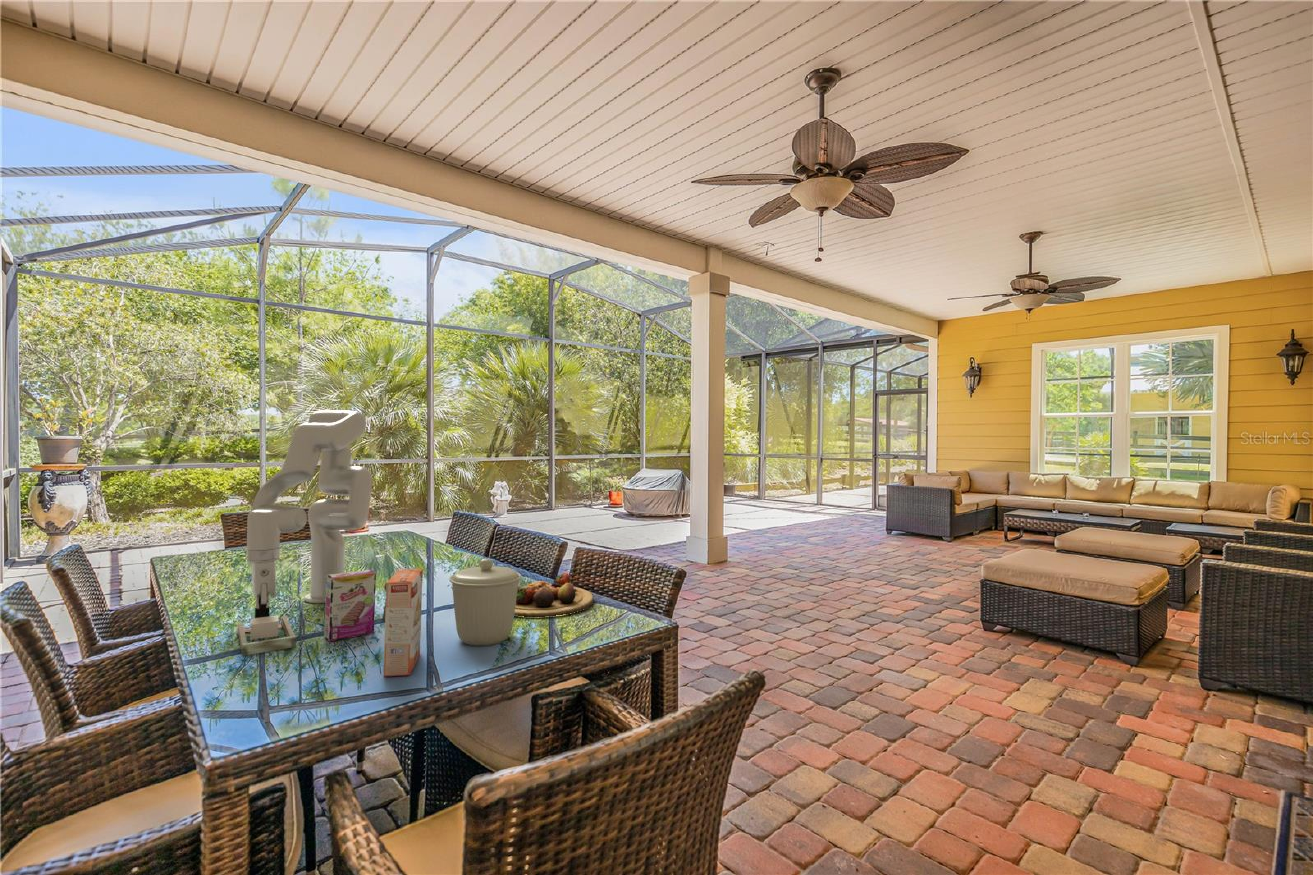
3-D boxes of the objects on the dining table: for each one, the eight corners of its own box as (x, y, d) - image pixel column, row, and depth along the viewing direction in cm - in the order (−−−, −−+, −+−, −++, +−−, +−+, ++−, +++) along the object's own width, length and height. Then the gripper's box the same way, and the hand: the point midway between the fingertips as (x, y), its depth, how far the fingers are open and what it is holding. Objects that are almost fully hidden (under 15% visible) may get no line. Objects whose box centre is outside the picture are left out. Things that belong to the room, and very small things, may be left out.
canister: (496, 655, 148) (498, 568, 148) (433, 646, 153) (434, 562, 153) (532, 632, 165) (534, 555, 165) (474, 625, 171) (476, 550, 171)
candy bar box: (329, 642, 154) (331, 578, 154) (323, 638, 158) (324, 574, 158) (375, 633, 162) (376, 571, 162) (368, 629, 166) (369, 568, 166)
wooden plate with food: (544, 587, 216) (544, 563, 216) (614, 601, 198) (613, 576, 198) (469, 608, 191) (469, 582, 190) (540, 627, 172) (540, 598, 172)
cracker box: (411, 676, 134) (413, 581, 134) (382, 678, 133) (384, 582, 133) (422, 654, 148) (423, 567, 148) (395, 655, 147) (397, 568, 147)
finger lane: (285, 623, 170) (285, 614, 170) (295, 646, 151) (296, 636, 151) (237, 629, 163) (237, 620, 163) (242, 655, 145) (242, 645, 144)
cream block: (277, 630, 164) (278, 615, 164) (278, 636, 159) (278, 621, 159) (251, 633, 161) (251, 618, 161) (250, 640, 156) (250, 624, 156)
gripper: (282, 558, 162) (280, 627, 162) (276, 549, 174) (275, 613, 174) (248, 561, 158) (246, 632, 158) (245, 551, 170) (243, 617, 170)
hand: (261, 622), depth 166 cm, fingers closed
